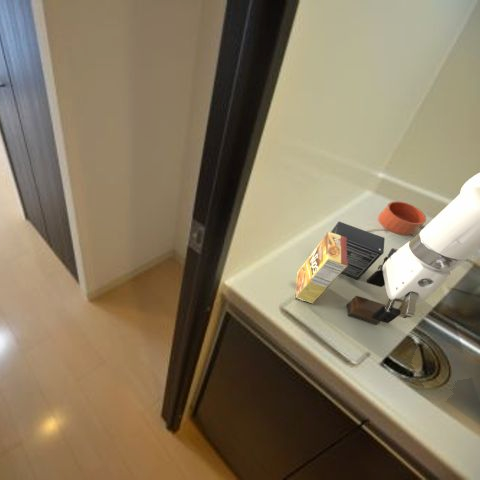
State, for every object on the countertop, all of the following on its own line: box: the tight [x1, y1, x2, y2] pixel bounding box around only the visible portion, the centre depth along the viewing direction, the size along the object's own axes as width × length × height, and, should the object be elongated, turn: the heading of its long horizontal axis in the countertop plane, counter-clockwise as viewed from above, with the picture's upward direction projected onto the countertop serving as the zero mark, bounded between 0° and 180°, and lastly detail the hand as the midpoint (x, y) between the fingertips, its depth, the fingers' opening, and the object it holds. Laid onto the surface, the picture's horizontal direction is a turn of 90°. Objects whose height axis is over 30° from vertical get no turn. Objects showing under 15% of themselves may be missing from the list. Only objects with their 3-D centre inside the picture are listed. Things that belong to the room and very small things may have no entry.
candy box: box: [295, 231, 348, 304], centre depth 74 cm, size 9×4×15 cm, turn 156°
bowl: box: [377, 200, 427, 236], centre depth 94 cm, size 10×10×4 cm
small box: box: [330, 221, 385, 280], centre depth 81 cm, size 11×6×10 cm, turn 58°
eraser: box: [346, 295, 387, 326], centre depth 73 cm, size 6×3×4 cm, turn 68°
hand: (376, 301), depth 70 cm, fingers open, 9 cm apart
